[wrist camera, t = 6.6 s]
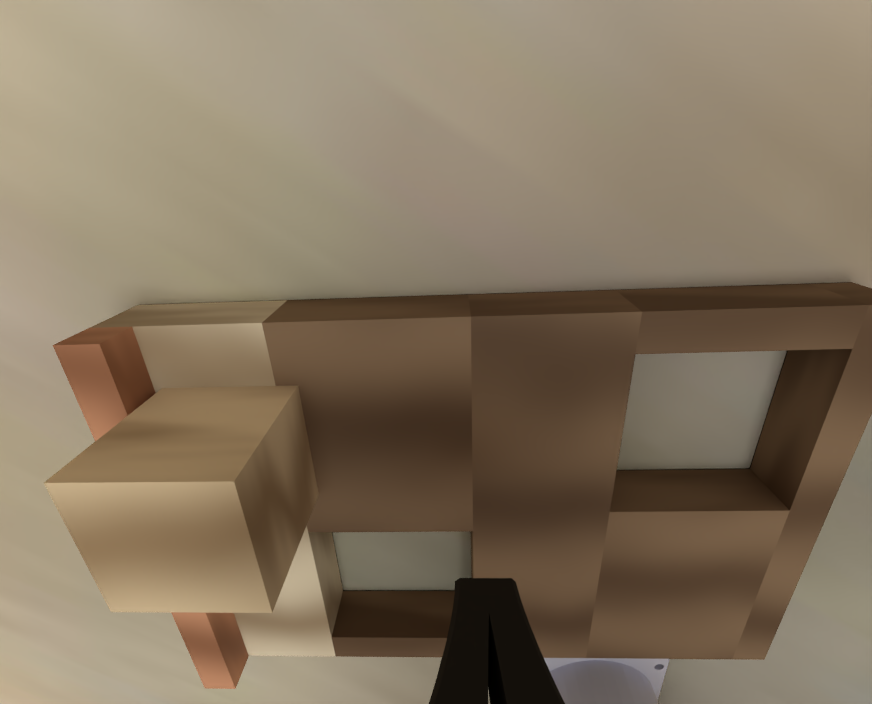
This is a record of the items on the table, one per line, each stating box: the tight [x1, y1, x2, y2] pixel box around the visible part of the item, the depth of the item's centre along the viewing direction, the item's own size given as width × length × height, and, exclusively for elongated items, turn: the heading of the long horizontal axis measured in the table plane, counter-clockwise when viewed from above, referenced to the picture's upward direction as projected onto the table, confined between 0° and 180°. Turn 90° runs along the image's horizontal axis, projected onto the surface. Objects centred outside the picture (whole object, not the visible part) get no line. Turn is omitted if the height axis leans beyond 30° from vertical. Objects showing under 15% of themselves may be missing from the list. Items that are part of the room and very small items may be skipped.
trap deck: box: [53, 282, 872, 689], centre depth 18 cm, size 18×27×4 cm, turn 92°
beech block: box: [44, 386, 319, 613], centre depth 14 cm, size 5×5×5 cm
